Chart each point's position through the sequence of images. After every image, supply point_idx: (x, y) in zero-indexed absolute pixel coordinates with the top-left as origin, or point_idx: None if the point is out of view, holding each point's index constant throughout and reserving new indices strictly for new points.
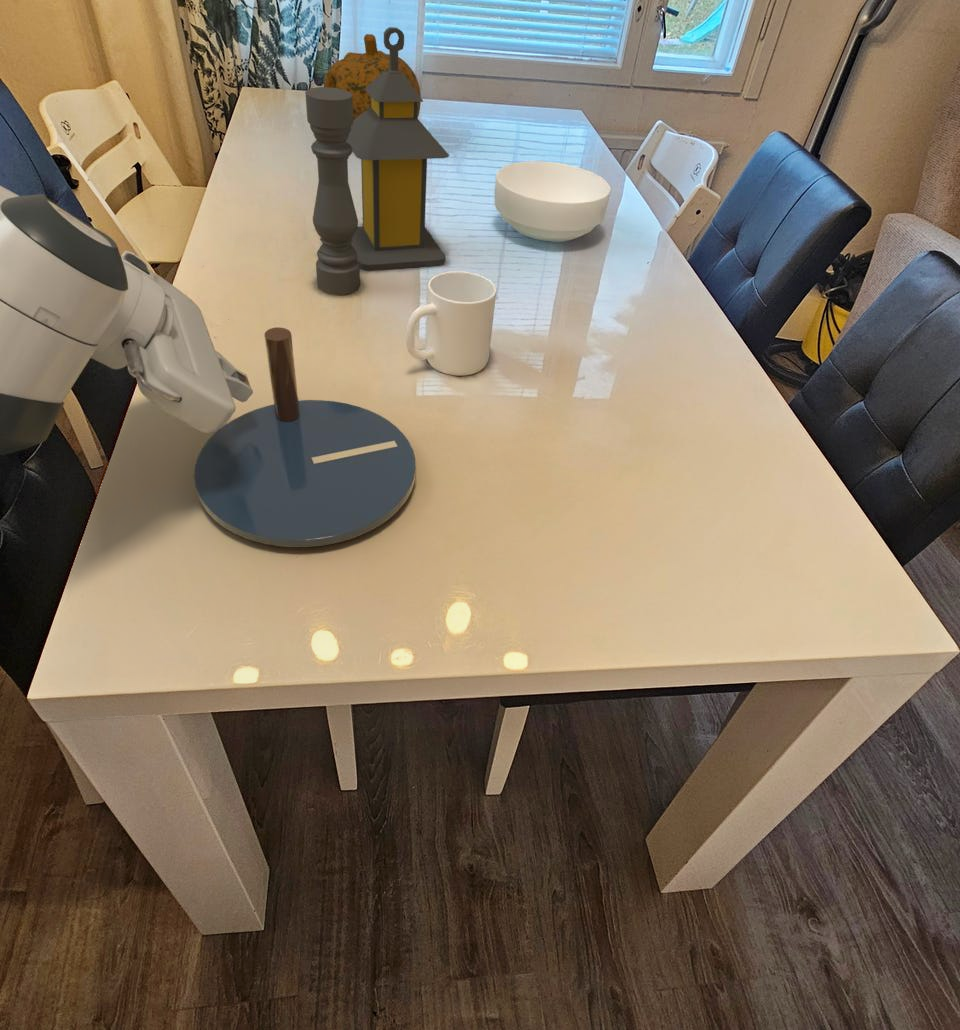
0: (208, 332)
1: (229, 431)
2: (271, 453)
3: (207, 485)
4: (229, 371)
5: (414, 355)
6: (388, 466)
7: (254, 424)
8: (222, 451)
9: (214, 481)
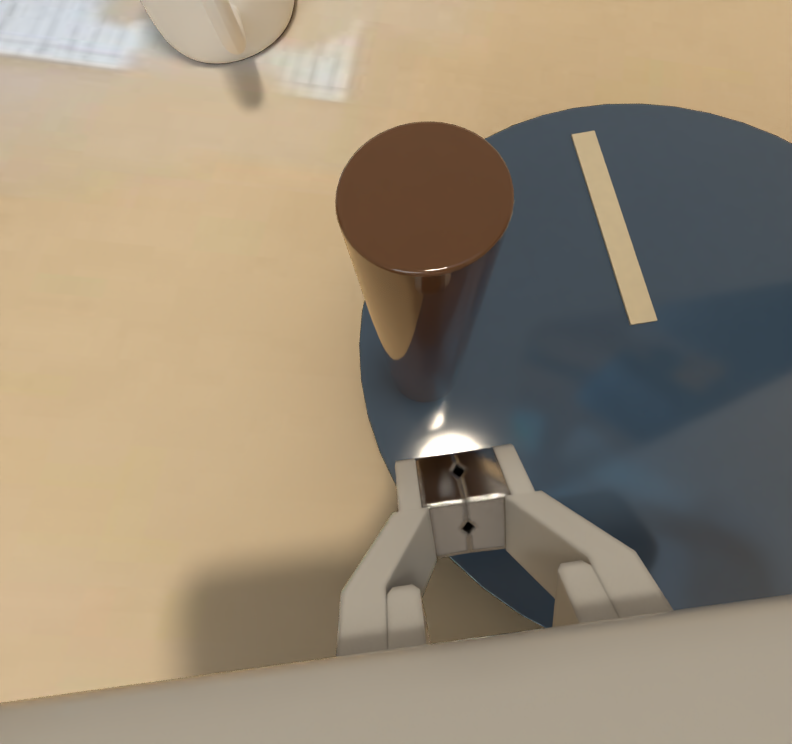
0: (203, 686)
1: None
2: (601, 427)
3: None
4: (424, 538)
5: (243, 41)
6: (669, 158)
7: None
8: None
9: None
